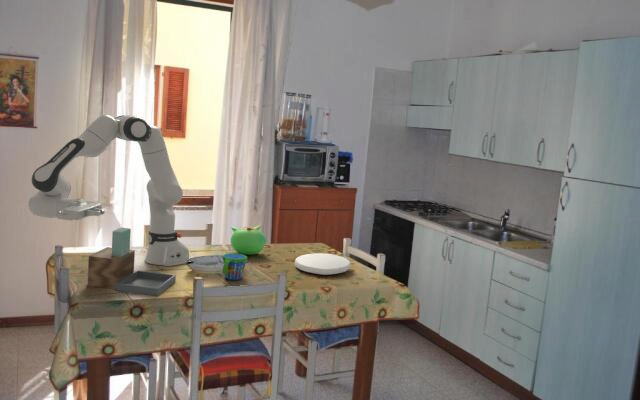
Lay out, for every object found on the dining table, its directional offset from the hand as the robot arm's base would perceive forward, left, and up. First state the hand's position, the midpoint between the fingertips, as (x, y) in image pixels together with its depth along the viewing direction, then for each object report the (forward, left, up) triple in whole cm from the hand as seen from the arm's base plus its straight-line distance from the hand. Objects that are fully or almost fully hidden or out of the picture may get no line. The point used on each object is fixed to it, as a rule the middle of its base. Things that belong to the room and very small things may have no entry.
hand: (101, 213), depth 242 cm
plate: (-102, +19, -28) cm, 107 cm away
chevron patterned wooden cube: (-4, +4, -28) cm, 28 cm away
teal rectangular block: (-6, +6, -16) cm, 18 cm away
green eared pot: (-82, -18, -28) cm, 88 cm away
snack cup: (-53, +17, -28) cm, 62 cm away
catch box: (-14, +14, -28) cm, 34 cm away
